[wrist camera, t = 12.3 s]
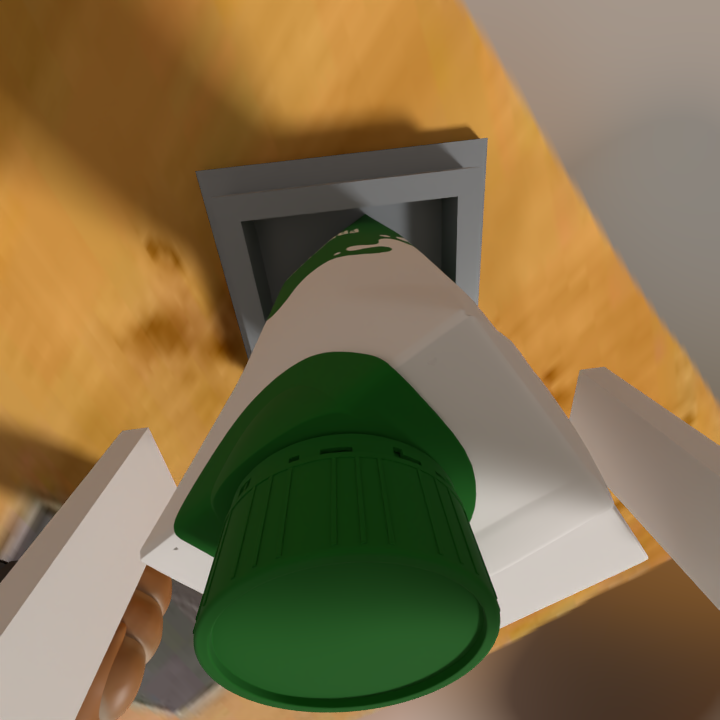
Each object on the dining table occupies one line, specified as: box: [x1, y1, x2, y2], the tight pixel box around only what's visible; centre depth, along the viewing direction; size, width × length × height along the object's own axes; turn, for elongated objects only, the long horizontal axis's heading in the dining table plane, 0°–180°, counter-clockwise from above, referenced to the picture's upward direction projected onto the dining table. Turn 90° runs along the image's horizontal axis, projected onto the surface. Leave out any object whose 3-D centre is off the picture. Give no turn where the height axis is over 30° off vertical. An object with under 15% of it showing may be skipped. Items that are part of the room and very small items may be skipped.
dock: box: [195, 138, 488, 360], centre depth 22 cm, size 16×16×4 cm
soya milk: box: [140, 214, 648, 712], centre depth 14 cm, size 9×9×20 cm
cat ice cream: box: [75, 565, 172, 720], centre depth 24 cm, size 9×8×18 cm
